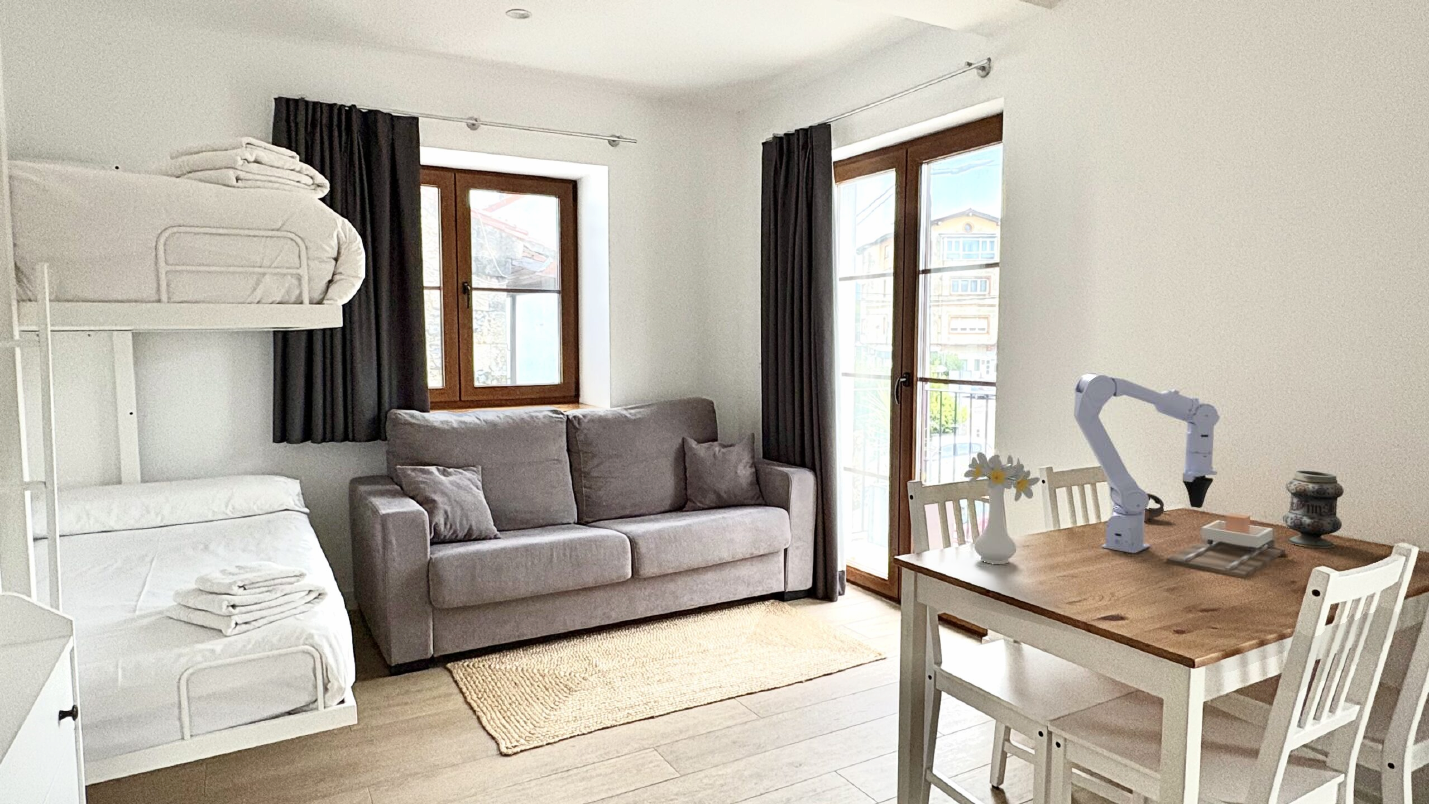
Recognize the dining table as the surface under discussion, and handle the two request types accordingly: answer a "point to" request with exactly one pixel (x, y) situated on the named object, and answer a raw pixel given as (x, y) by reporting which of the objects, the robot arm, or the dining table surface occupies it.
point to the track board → (1226, 557)
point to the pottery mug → (1154, 512)
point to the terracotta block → (1237, 523)
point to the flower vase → (998, 503)
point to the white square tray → (1237, 535)
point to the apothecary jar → (1313, 508)
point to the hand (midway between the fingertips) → (1196, 507)
